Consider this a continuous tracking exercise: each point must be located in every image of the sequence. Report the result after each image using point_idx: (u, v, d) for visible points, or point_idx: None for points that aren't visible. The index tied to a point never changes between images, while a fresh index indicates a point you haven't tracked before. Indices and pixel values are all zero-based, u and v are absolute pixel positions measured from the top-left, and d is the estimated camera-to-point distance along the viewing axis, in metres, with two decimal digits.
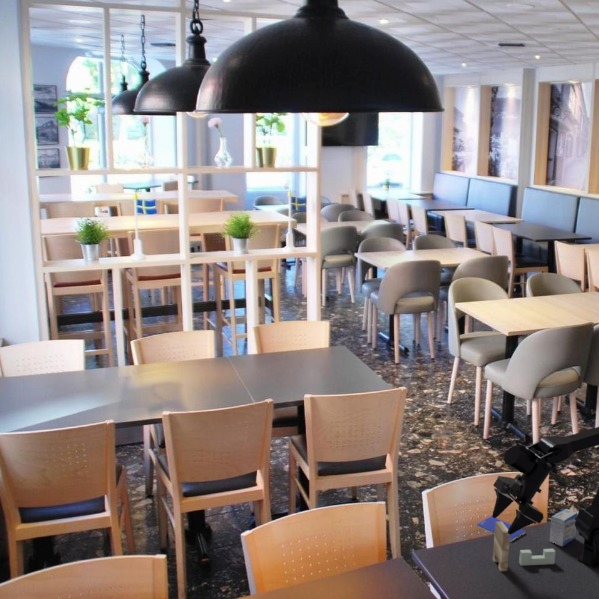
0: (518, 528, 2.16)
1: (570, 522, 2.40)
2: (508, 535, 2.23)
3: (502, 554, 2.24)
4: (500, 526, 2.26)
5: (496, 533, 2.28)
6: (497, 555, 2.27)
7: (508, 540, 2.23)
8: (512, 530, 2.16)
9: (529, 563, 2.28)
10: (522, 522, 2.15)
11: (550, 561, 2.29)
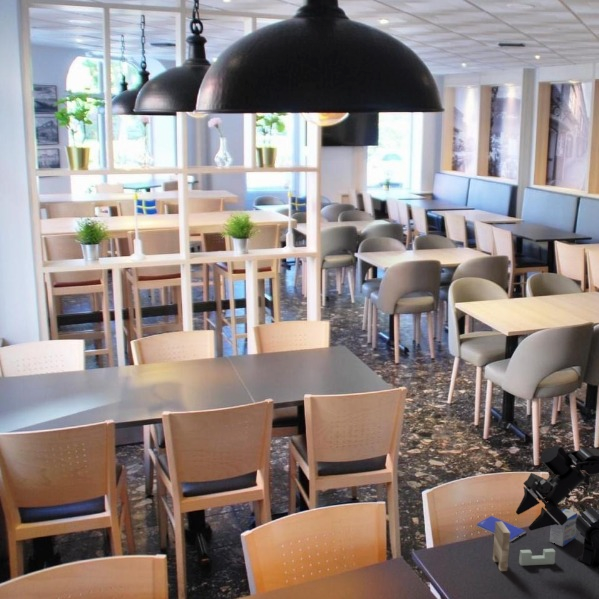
0: (539, 526, 2.20)
1: (570, 522, 2.40)
2: (508, 535, 2.23)
3: (502, 554, 2.24)
4: (500, 526, 2.26)
5: (496, 533, 2.28)
6: (497, 555, 2.27)
7: (508, 540, 2.23)
8: (533, 526, 2.20)
9: (529, 563, 2.28)
10: (545, 521, 2.20)
11: (550, 561, 2.29)
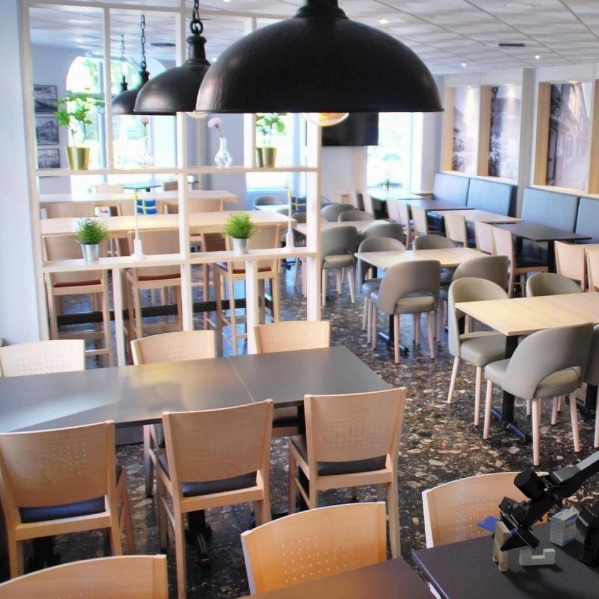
0: (511, 547, 2.22)
1: (570, 522, 2.40)
2: (508, 535, 2.23)
3: (502, 554, 2.24)
4: (500, 526, 2.26)
5: (496, 533, 2.28)
6: (497, 555, 2.27)
7: None
8: (504, 547, 2.23)
9: (529, 563, 2.28)
10: (516, 542, 2.22)
11: (550, 561, 2.29)
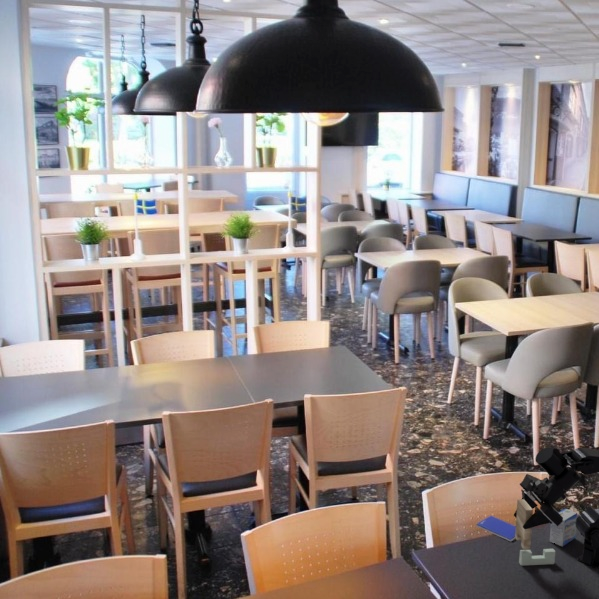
0: (534, 525, 2.22)
1: (571, 522, 2.40)
2: (531, 512, 2.22)
3: (525, 532, 2.23)
4: (522, 504, 2.25)
5: (518, 511, 2.27)
6: (520, 533, 2.27)
7: None
8: (527, 525, 2.22)
9: (529, 563, 2.28)
10: (539, 520, 2.21)
11: (550, 561, 2.29)
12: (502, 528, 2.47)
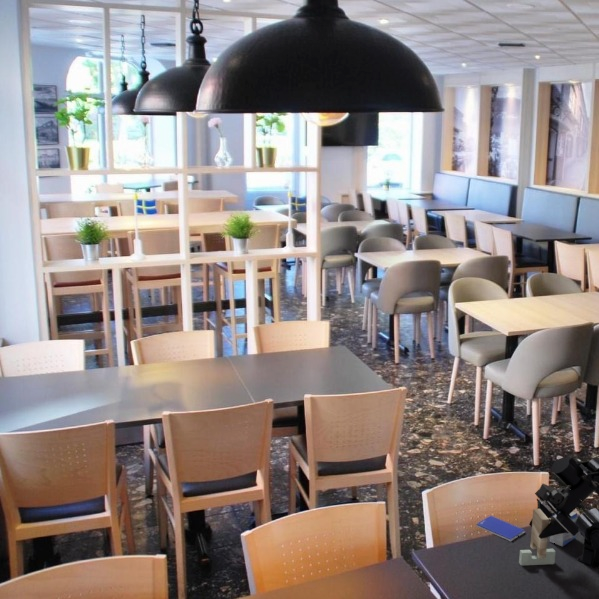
0: (550, 534, 2.23)
1: None
2: (547, 522, 2.23)
3: (541, 541, 2.24)
4: (538, 513, 2.26)
5: (534, 520, 2.28)
6: (535, 542, 2.28)
7: None
8: (543, 534, 2.23)
9: (529, 563, 2.28)
10: (555, 529, 2.22)
11: (550, 561, 2.29)
12: (502, 528, 2.47)
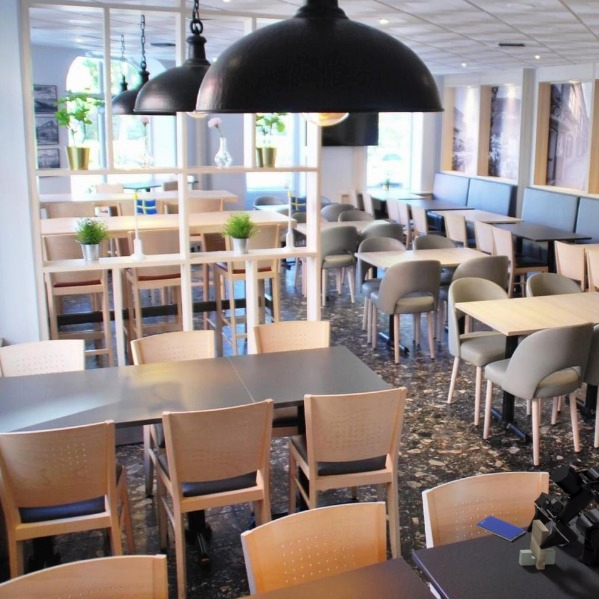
0: (551, 545, 2.22)
1: (570, 522, 2.40)
2: (547, 533, 2.24)
3: (540, 552, 2.25)
4: (538, 524, 2.27)
5: (534, 531, 2.29)
6: (534, 553, 2.28)
7: None
8: (544, 545, 2.22)
9: (529, 563, 2.28)
10: (556, 540, 2.22)
11: (550, 561, 2.29)
12: (502, 528, 2.47)
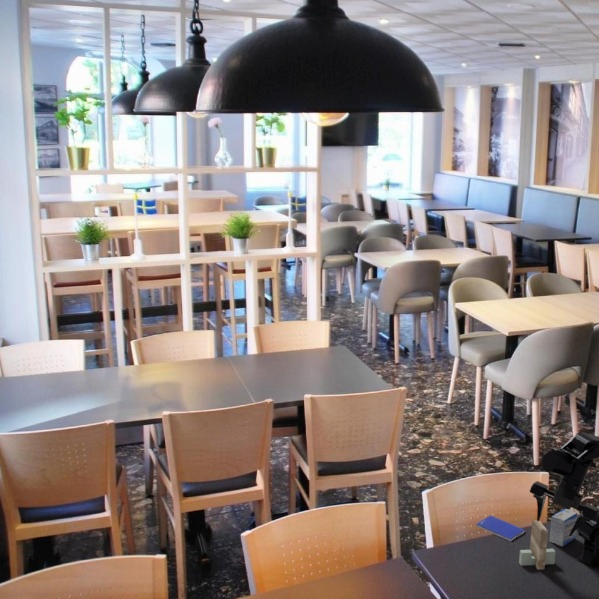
0: None
1: (570, 522, 2.40)
2: (546, 533, 2.24)
3: (540, 552, 2.25)
4: (537, 525, 2.27)
5: (533, 532, 2.29)
6: (534, 553, 2.28)
7: (546, 538, 2.24)
8: (573, 532, 2.21)
9: (529, 563, 2.28)
10: None
11: (550, 561, 2.29)
12: (502, 528, 2.47)
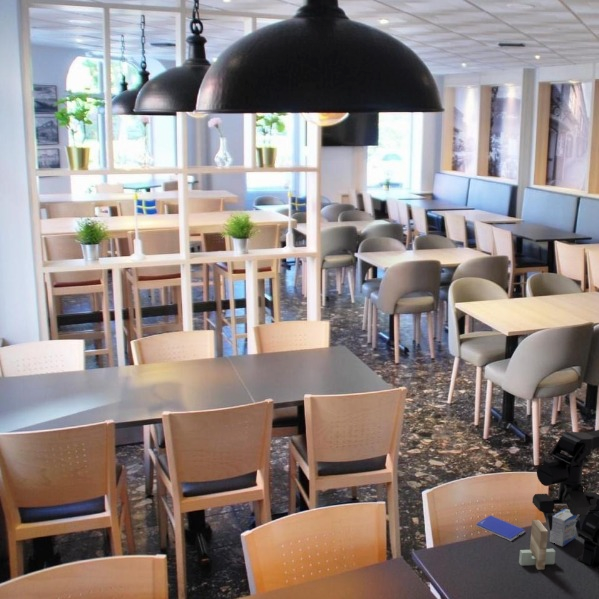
0: None
1: (570, 522, 2.40)
2: (546, 533, 2.24)
3: (540, 552, 2.25)
4: (537, 525, 2.27)
5: (533, 532, 2.29)
6: (534, 553, 2.28)
7: (546, 538, 2.24)
8: None
9: (529, 563, 2.28)
10: None
11: (550, 561, 2.29)
12: (502, 528, 2.47)
